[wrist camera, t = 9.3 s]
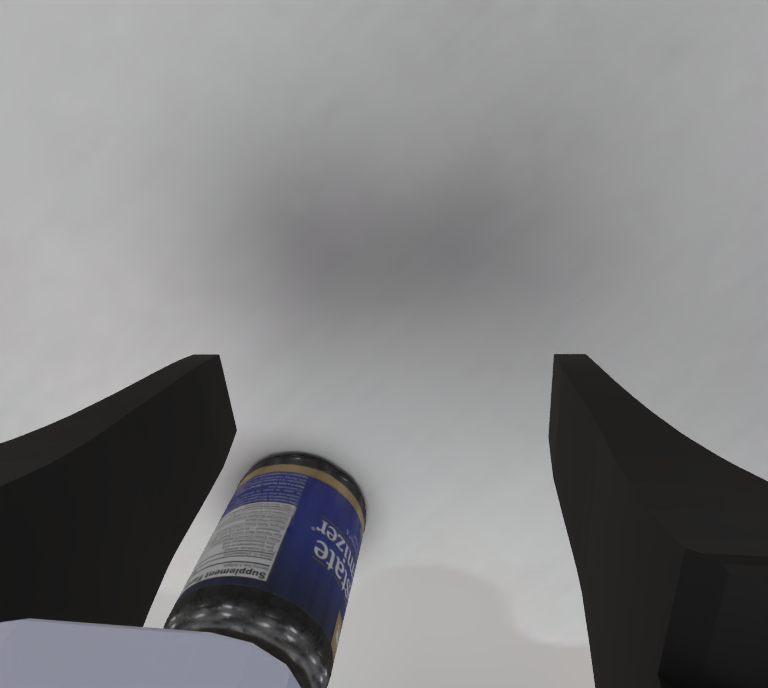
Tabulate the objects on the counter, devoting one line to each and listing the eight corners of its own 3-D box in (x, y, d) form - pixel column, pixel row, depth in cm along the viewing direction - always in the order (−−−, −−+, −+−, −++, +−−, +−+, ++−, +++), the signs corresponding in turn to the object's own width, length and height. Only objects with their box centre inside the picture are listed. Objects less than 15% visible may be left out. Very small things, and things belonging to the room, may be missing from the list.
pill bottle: (382, 544, 28) (333, 816, 18) (265, 554, 29) (163, 811, 20) (346, 440, 25) (266, 693, 16) (220, 457, 27) (75, 698, 17)
